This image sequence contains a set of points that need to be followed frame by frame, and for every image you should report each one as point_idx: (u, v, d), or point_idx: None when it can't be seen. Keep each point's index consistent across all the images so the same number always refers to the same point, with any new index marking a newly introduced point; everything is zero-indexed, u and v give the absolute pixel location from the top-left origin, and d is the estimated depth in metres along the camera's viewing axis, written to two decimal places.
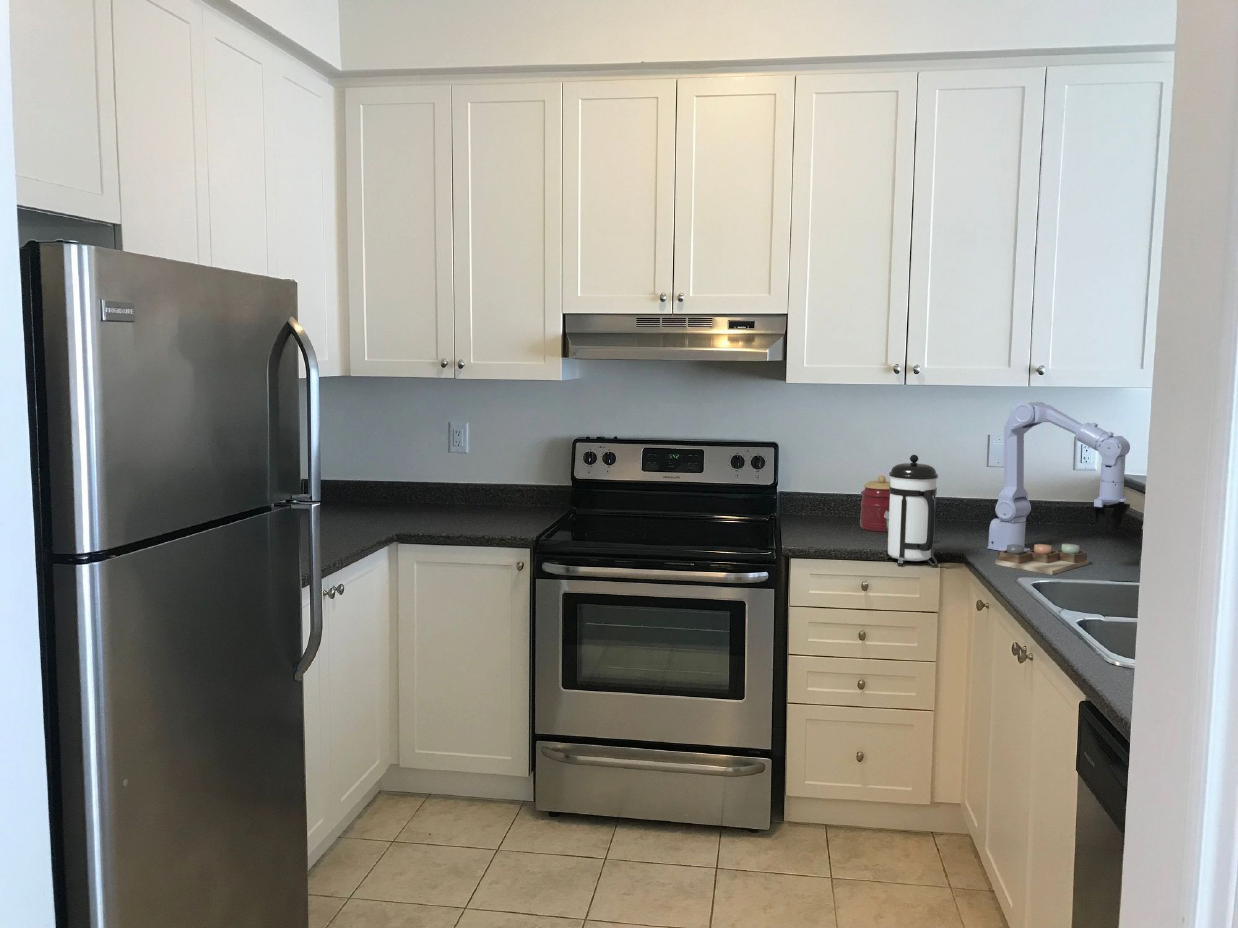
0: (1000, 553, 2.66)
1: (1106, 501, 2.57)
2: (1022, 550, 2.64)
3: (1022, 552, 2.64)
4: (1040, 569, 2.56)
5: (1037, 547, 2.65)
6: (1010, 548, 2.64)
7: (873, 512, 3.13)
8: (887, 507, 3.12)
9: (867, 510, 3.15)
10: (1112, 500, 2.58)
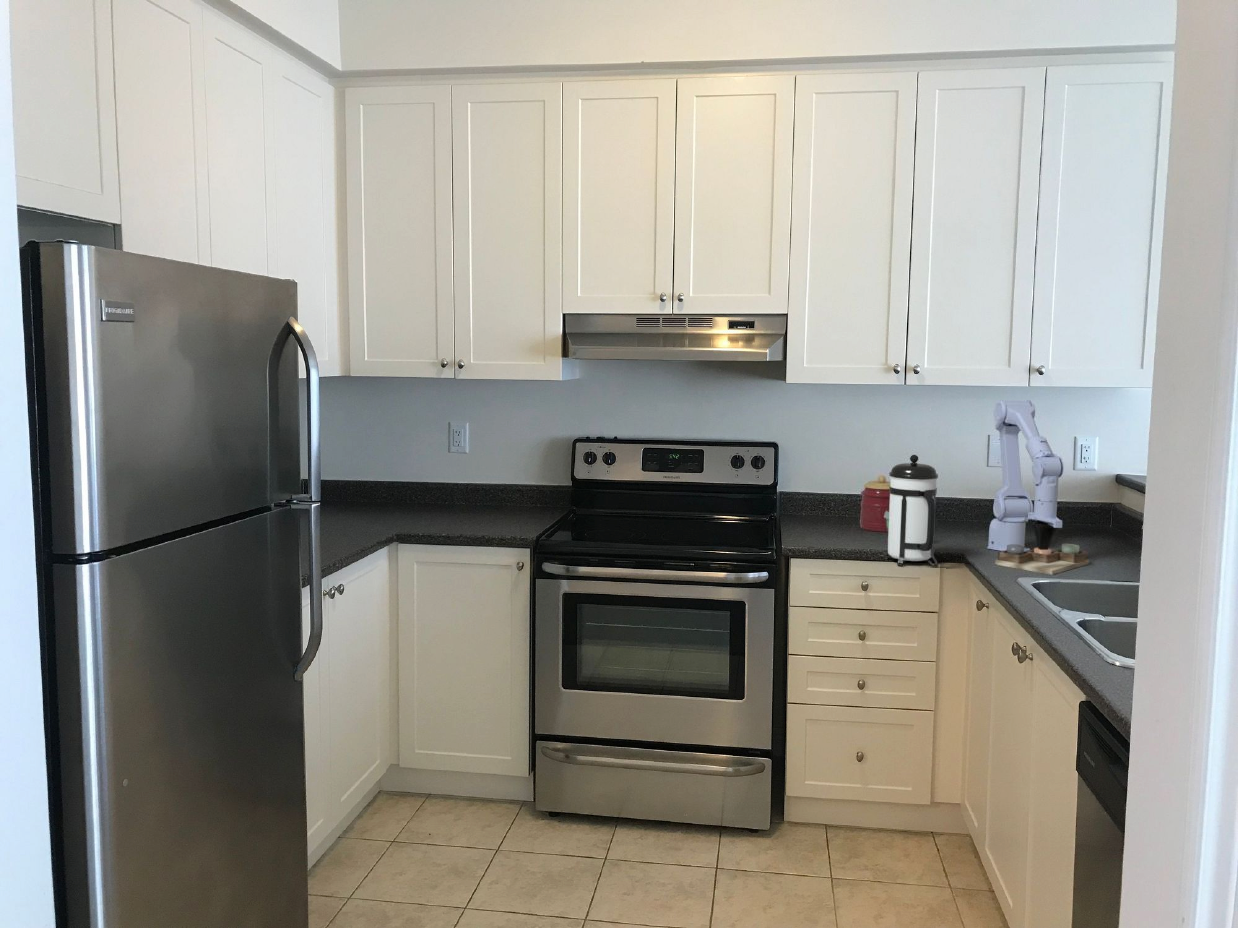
0: (1000, 553, 2.66)
1: (1030, 514, 2.70)
2: (1022, 550, 2.64)
3: (1022, 552, 2.64)
4: (1040, 569, 2.56)
5: (1037, 551, 2.65)
6: (1010, 548, 2.64)
7: (873, 512, 3.13)
8: (887, 507, 3.12)
9: (867, 510, 3.15)
10: (1031, 515, 2.68)
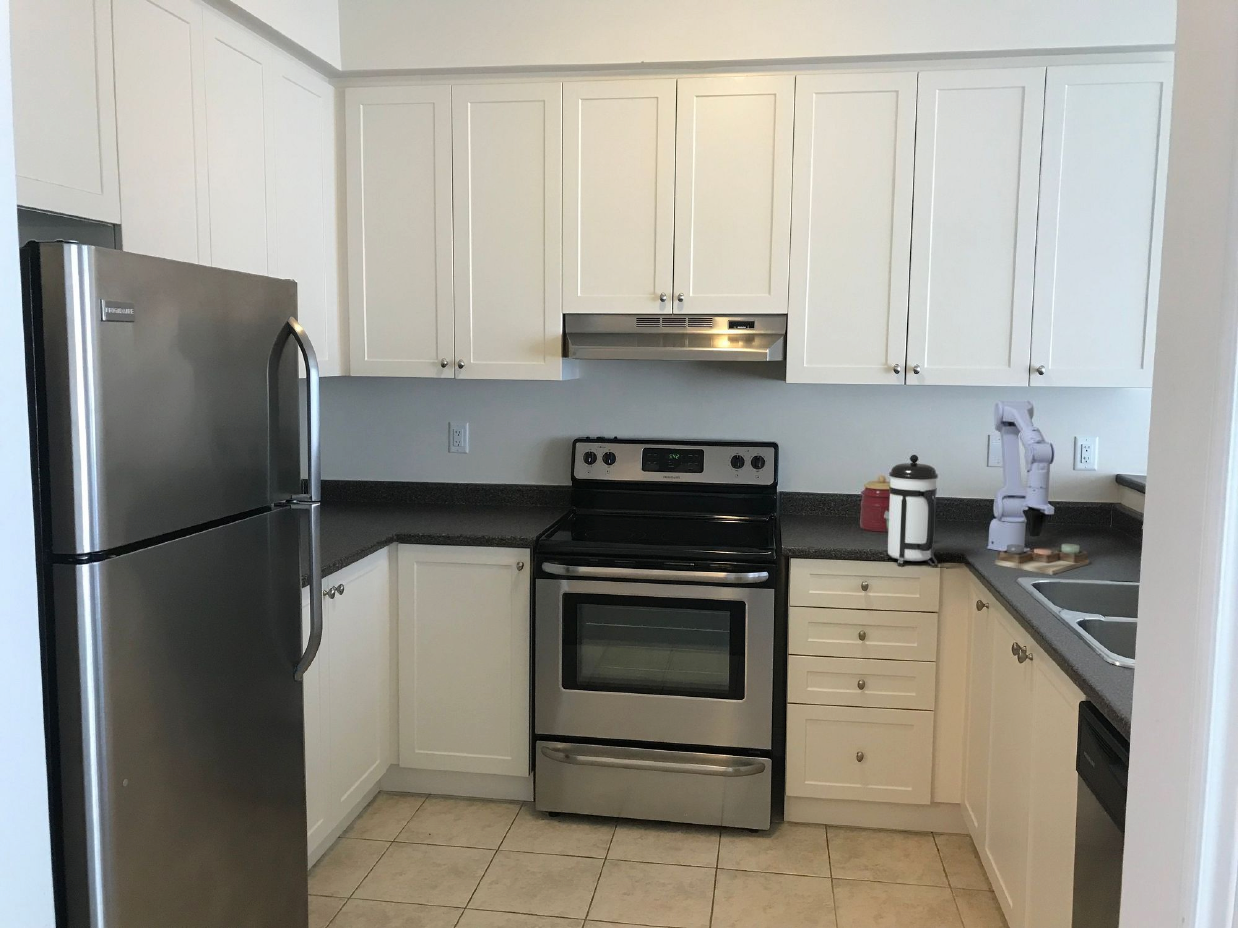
0: (1000, 553, 2.66)
1: (1022, 501, 2.70)
2: (1022, 550, 2.64)
3: (1022, 552, 2.64)
4: (1040, 569, 2.56)
5: (1037, 552, 2.65)
6: (1010, 548, 2.64)
7: (873, 512, 3.13)
8: (887, 507, 3.12)
9: (867, 510, 3.15)
10: (1023, 502, 2.68)
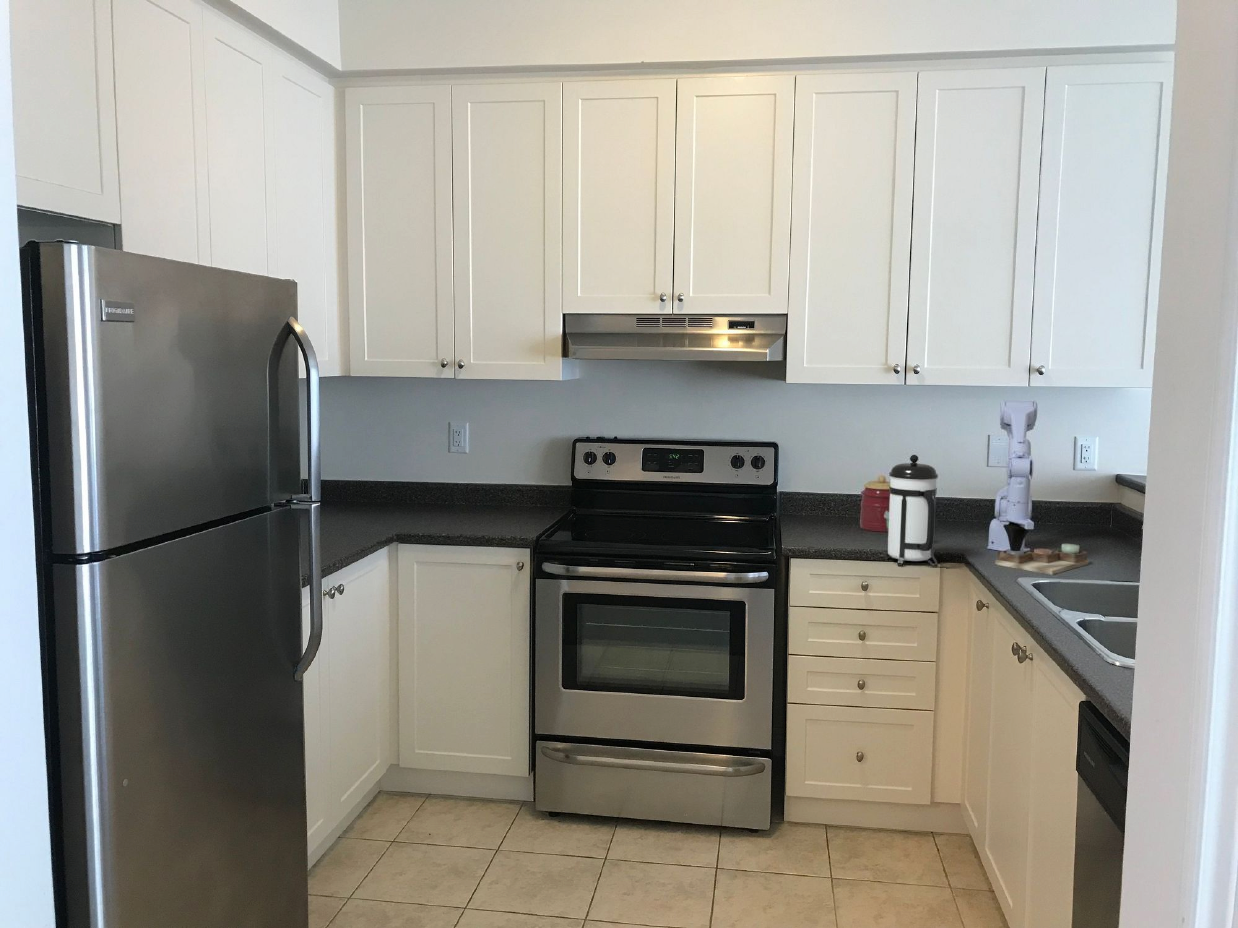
0: (1000, 553, 2.66)
1: (1003, 516, 2.70)
2: None
3: None
4: (1040, 569, 2.56)
5: (1037, 552, 2.65)
6: (1010, 553, 2.64)
7: (873, 512, 3.13)
8: (887, 507, 3.12)
9: (867, 510, 3.15)
10: (1004, 516, 2.68)
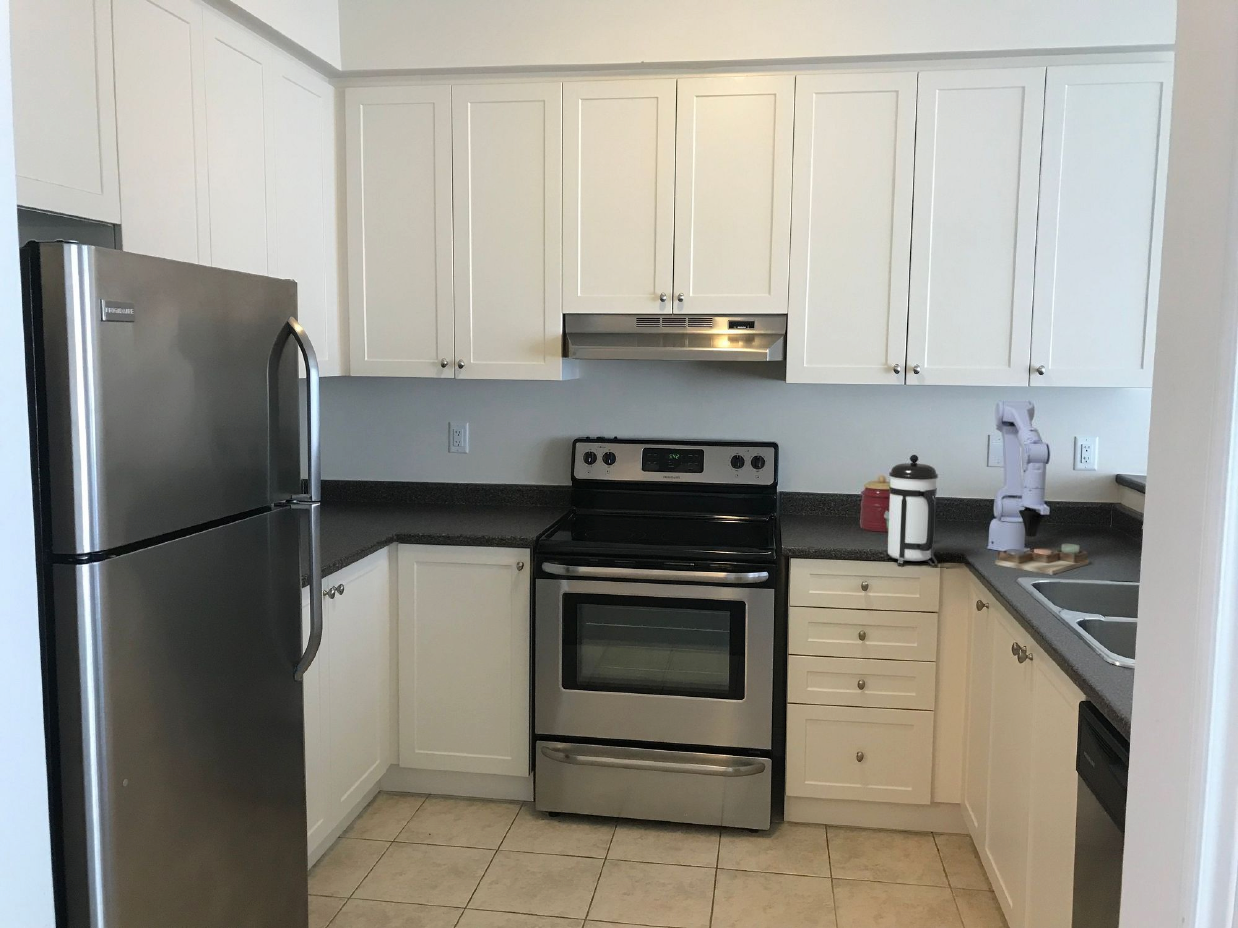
0: (1000, 553, 2.66)
1: (1018, 501, 2.70)
2: None
3: None
4: (1040, 569, 2.56)
5: (1037, 552, 2.65)
6: (1010, 553, 2.64)
7: (873, 512, 3.13)
8: (887, 507, 3.12)
9: (867, 510, 3.15)
10: (1019, 502, 2.68)
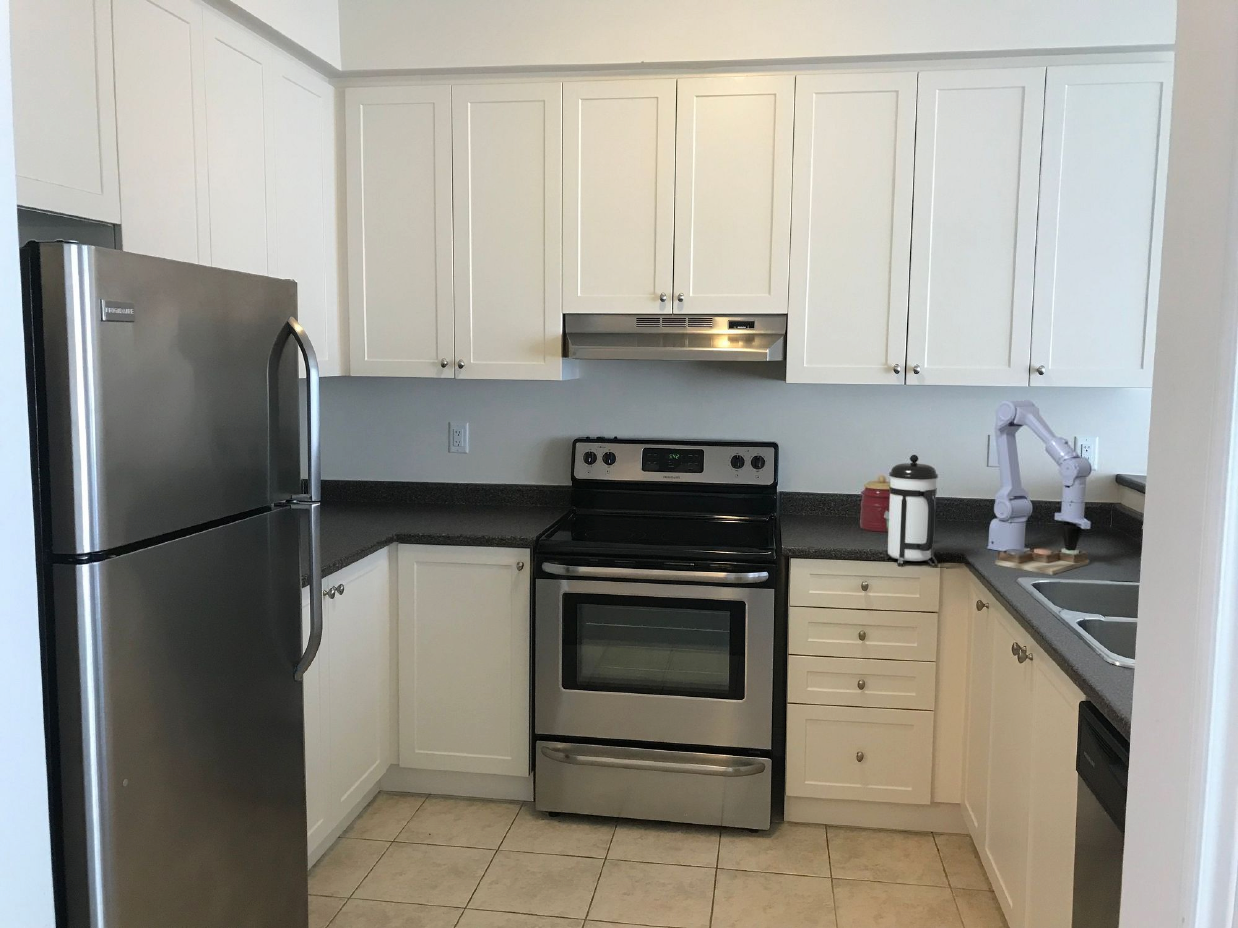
0: (1000, 553, 2.66)
1: (1057, 515, 2.71)
2: None
3: None
4: (1040, 569, 2.56)
5: (1037, 552, 2.65)
6: (1010, 553, 2.64)
7: (873, 512, 3.13)
8: (887, 507, 3.12)
9: (867, 510, 3.15)
10: (1058, 516, 2.69)
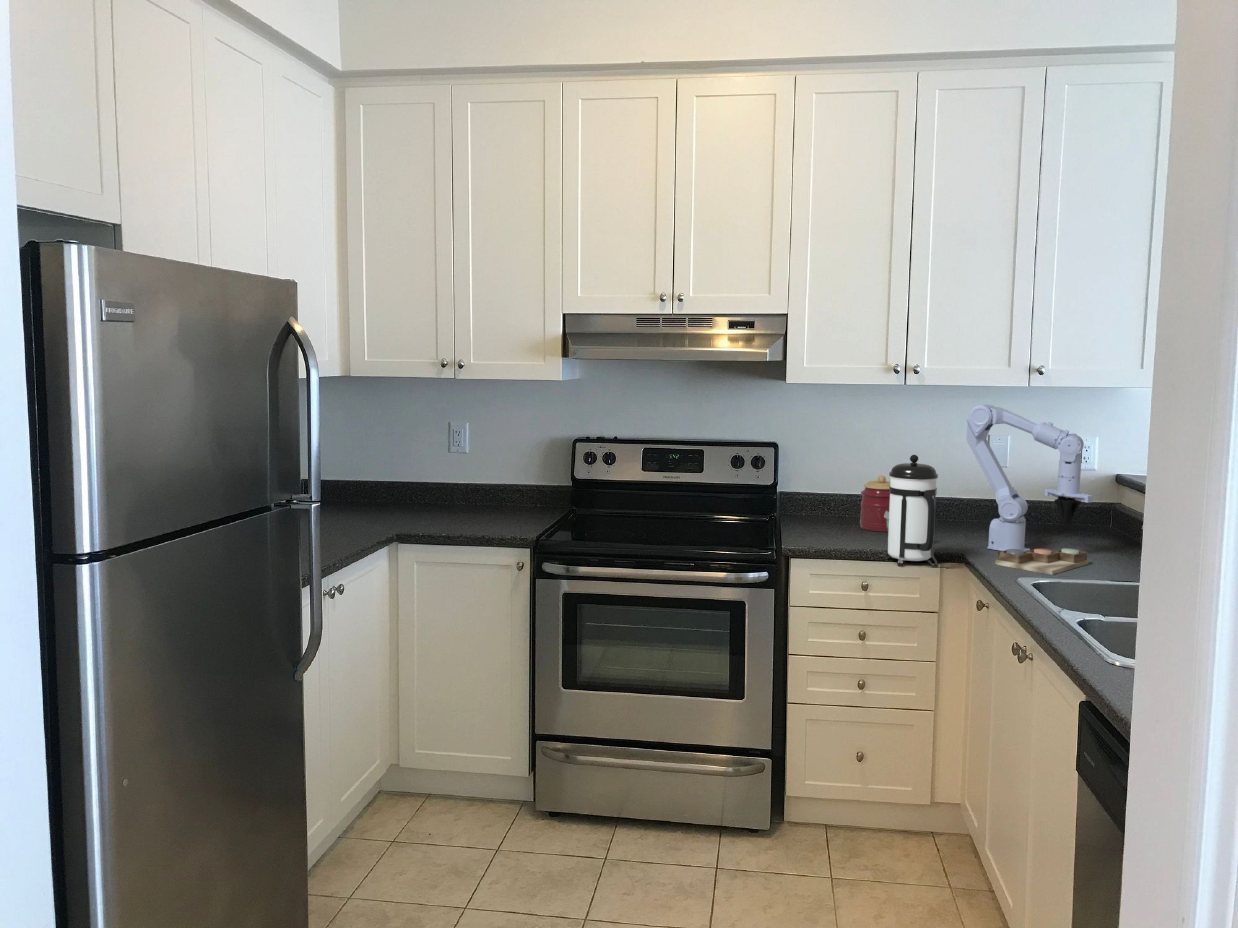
0: (1000, 553, 2.66)
1: (1049, 491, 2.79)
2: None
3: None
4: (1040, 569, 2.56)
5: (1037, 552, 2.65)
6: (1010, 553, 2.64)
7: (873, 512, 3.13)
8: (887, 507, 3.12)
9: (867, 510, 3.15)
10: (1053, 492, 2.77)
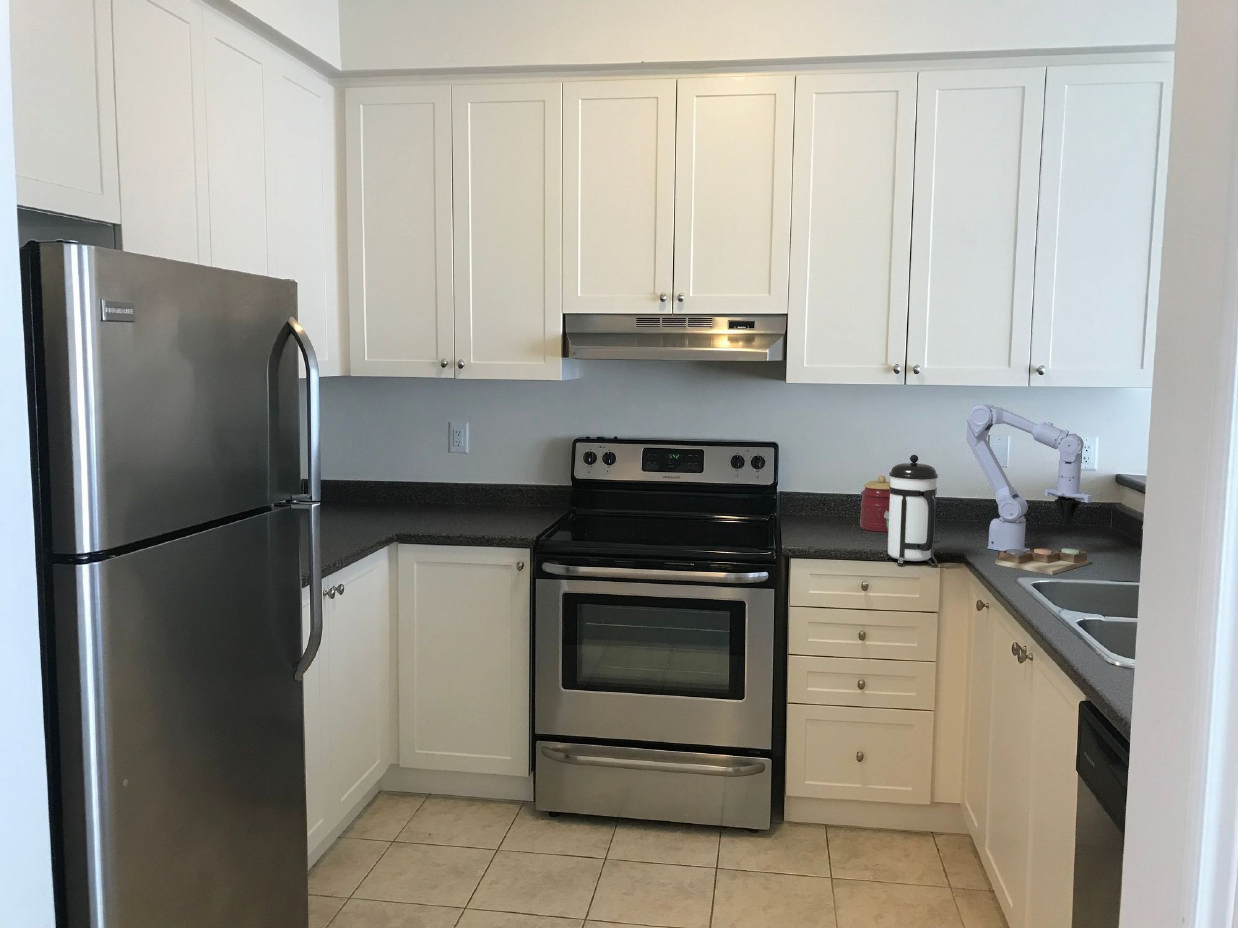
0: (1000, 553, 2.66)
1: (1049, 491, 2.79)
2: None
3: None
4: (1040, 569, 2.56)
5: (1037, 552, 2.65)
6: (1010, 553, 2.64)
7: (873, 512, 3.13)
8: (887, 507, 3.12)
9: (867, 510, 3.15)
10: (1053, 492, 2.77)
